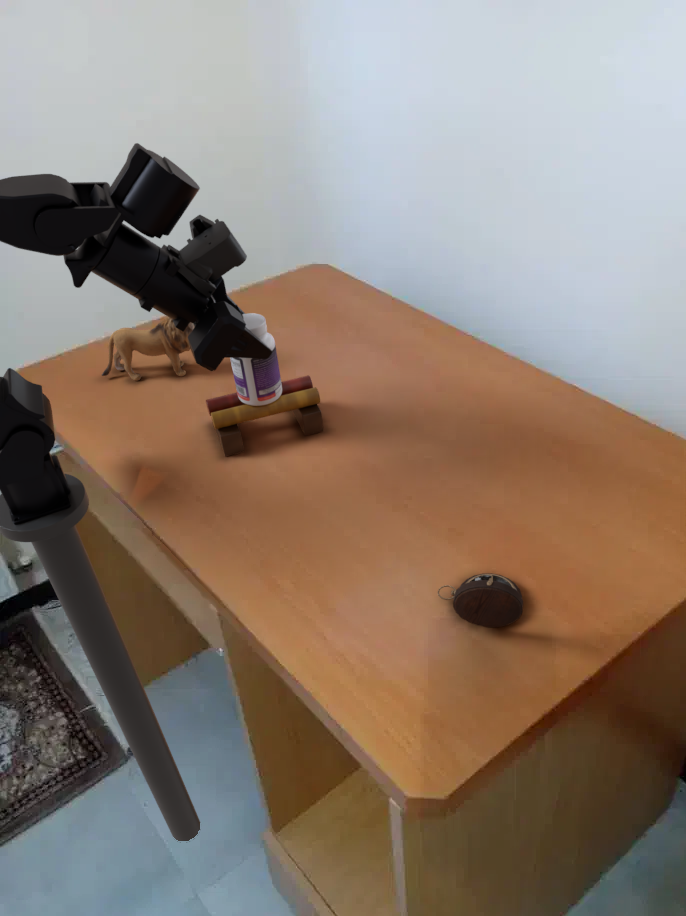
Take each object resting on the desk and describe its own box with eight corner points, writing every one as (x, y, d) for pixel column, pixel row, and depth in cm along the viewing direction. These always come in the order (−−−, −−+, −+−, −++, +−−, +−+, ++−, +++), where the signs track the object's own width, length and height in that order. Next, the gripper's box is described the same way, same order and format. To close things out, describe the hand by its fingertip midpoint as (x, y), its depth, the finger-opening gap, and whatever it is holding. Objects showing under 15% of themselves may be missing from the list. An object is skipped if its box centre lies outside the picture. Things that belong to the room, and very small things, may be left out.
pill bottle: (286, 382, 97) (275, 309, 90) (278, 407, 93) (266, 332, 86) (243, 382, 97) (229, 309, 91) (233, 407, 93) (218, 332, 87)
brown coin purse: (522, 581, 77) (528, 526, 72) (519, 644, 72) (524, 589, 67) (441, 574, 79) (441, 520, 74) (431, 635, 73) (430, 581, 68)
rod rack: (222, 457, 94) (214, 423, 91) (210, 426, 99) (202, 392, 96) (326, 430, 98) (322, 396, 94) (309, 402, 102) (305, 368, 99)
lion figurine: (209, 354, 113) (196, 295, 107) (211, 373, 109) (197, 313, 103) (103, 370, 111) (84, 310, 105) (102, 389, 107) (81, 329, 101)
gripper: (206, 238, 72) (331, 324, 82) (171, 175, 85) (283, 256, 95) (140, 334, 75) (268, 405, 85) (116, 259, 88) (230, 328, 98)
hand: (263, 343), depth 91 cm, fingers closed on pill bottle, 5 cm apart
